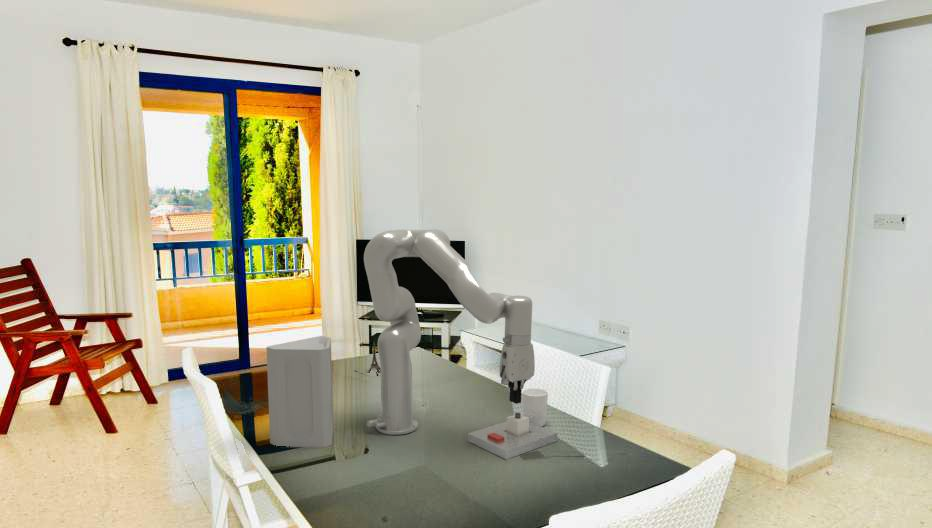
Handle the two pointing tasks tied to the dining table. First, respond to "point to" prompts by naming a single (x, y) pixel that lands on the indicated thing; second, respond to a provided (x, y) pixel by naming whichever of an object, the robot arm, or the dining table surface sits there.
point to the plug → (517, 425)
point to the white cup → (535, 405)
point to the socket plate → (511, 439)
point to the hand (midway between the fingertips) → (515, 401)
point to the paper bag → (300, 393)
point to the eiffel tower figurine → (375, 362)
